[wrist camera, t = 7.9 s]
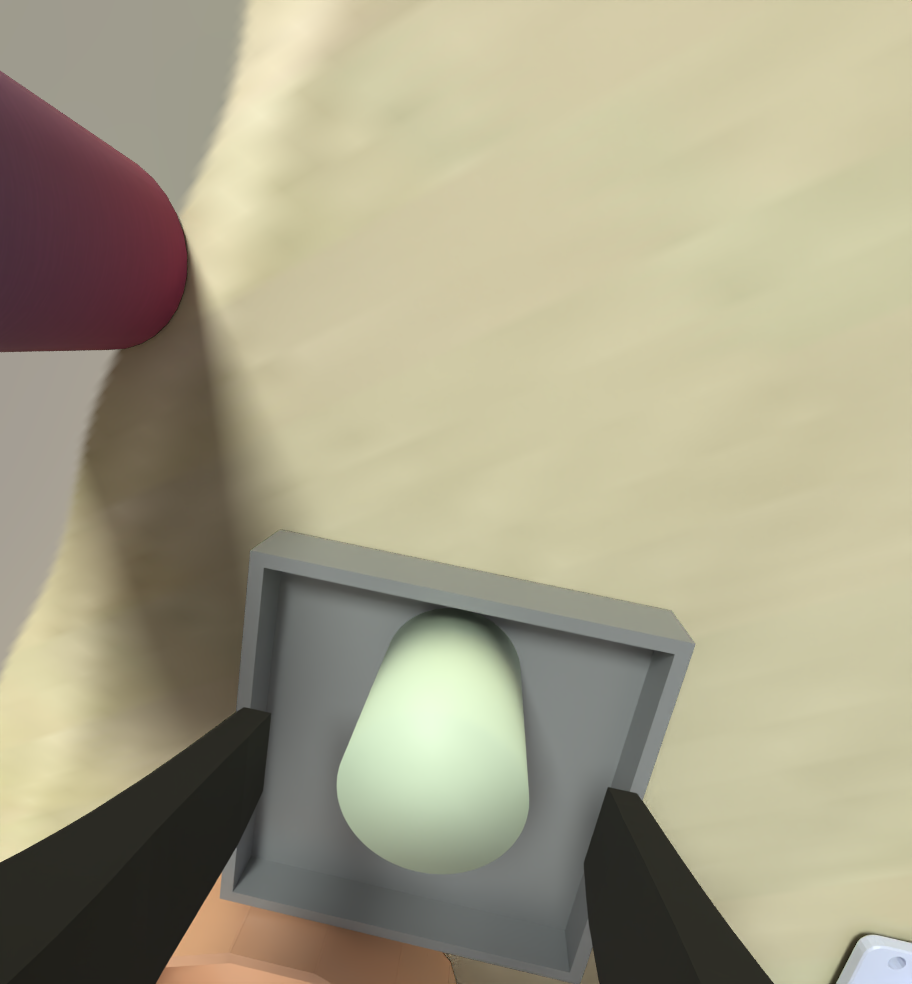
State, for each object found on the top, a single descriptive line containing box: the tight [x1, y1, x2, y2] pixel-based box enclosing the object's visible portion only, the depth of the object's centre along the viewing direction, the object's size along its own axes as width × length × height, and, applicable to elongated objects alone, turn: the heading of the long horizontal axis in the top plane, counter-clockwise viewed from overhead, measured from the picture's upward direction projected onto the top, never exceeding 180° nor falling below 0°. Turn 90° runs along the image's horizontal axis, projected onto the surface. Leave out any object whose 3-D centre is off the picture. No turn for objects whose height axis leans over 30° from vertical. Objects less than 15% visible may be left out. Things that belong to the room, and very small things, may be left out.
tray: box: [220, 530, 695, 984], centre depth 15 cm, size 12×12×2 cm
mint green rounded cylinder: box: [337, 608, 529, 874], centre depth 12 cm, size 4×4×4 cm
